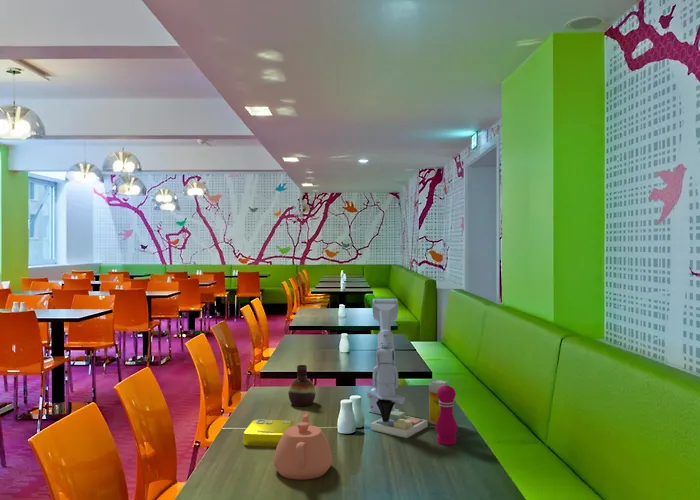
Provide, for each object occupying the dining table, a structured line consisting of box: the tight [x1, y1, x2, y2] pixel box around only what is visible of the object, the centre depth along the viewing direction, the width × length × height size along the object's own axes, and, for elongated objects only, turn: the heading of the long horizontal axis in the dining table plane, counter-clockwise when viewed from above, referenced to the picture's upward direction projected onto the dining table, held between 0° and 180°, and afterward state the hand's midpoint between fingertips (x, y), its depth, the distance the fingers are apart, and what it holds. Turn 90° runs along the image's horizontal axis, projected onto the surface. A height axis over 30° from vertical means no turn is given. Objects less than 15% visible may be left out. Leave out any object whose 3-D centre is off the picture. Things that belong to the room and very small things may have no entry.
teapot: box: [273, 411, 333, 480], centre depth 165 cm, size 25×17×13 cm
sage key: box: [389, 410, 406, 421], centre depth 205 cm, size 4×4×2 cm
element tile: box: [242, 418, 296, 447], centre depth 190 cm, size 15×15×5 cm
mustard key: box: [394, 419, 412, 430], centre depth 195 cm, size 4×4×2 cm
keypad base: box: [370, 415, 429, 439], centre depth 200 cm, size 14×14×2 cm
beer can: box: [428, 379, 445, 426], centre depth 206 cm, size 6×6×15 cm
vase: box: [288, 364, 316, 407], centre depth 231 cm, size 11×11×15 cm
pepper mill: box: [434, 380, 459, 446], centre depth 186 cm, size 7×7×20 cm
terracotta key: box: [406, 416, 423, 426], centre depth 200 cm, size 4×4×2 cm
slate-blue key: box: [376, 418, 395, 427], centre depth 199 cm, size 4×4×2 cm
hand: (385, 420), depth 199 cm, fingers closed, pressing on slate-blue key
